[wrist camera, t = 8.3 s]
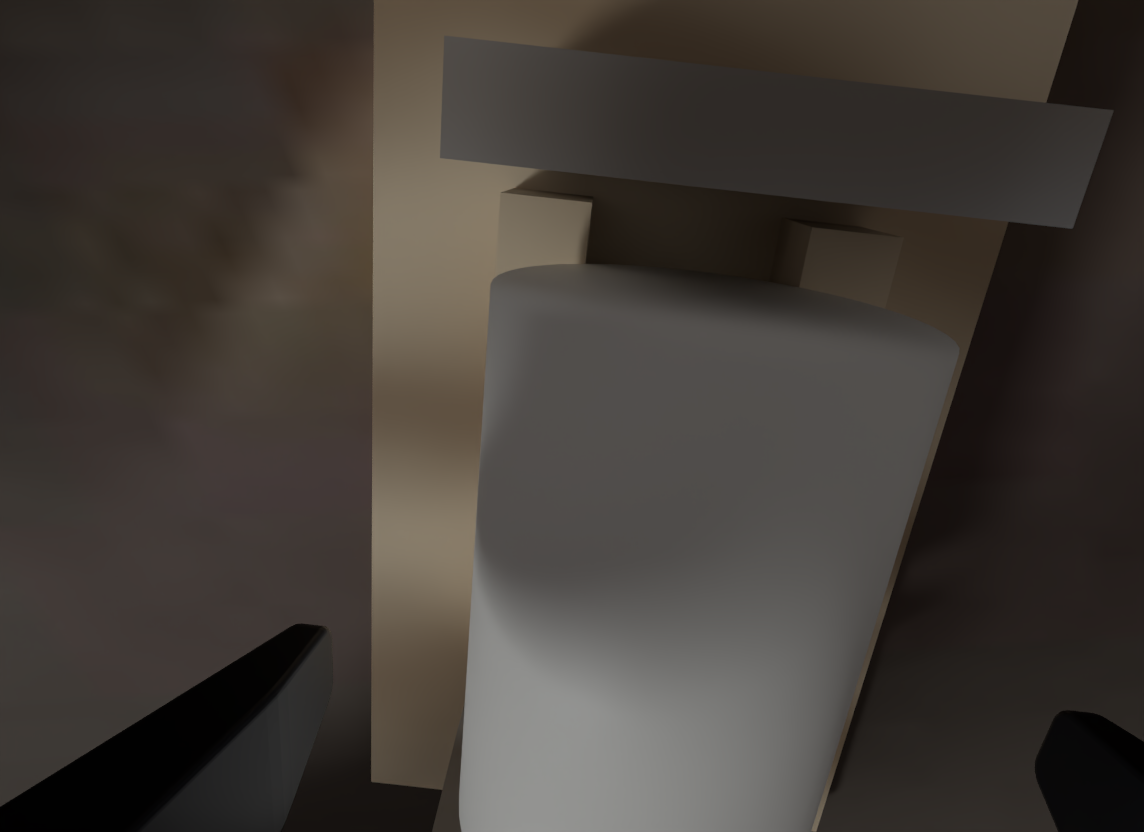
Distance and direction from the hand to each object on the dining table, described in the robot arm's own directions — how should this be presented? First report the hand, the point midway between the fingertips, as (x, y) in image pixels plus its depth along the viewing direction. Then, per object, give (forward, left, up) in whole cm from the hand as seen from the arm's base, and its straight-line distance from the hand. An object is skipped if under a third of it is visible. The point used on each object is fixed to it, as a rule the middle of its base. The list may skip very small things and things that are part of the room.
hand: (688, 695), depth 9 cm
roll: (0, 0, -6) cm, 6 cm away
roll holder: (0, 0, -8) cm, 8 cm away
